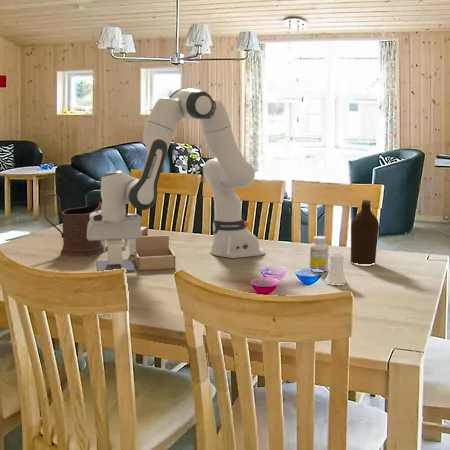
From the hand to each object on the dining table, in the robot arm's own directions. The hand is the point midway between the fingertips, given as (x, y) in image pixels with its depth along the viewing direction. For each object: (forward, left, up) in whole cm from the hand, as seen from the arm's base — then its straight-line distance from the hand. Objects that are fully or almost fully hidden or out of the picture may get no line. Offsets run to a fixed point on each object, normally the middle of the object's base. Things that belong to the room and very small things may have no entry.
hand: (114, 250), depth 228 cm
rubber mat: (0, 0, -6) cm, 6 cm away
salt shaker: (-74, +36, -7) cm, 82 cm away
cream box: (0, 0, -4) cm, 4 cm away
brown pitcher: (+14, -27, -7) cm, 31 cm away
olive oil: (-95, +14, -7) cm, 96 cm away
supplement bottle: (-74, +20, -7) cm, 77 cm away
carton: (-15, 0, -6) cm, 16 cm away
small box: (-11, -20, -7) cm, 24 cm away
